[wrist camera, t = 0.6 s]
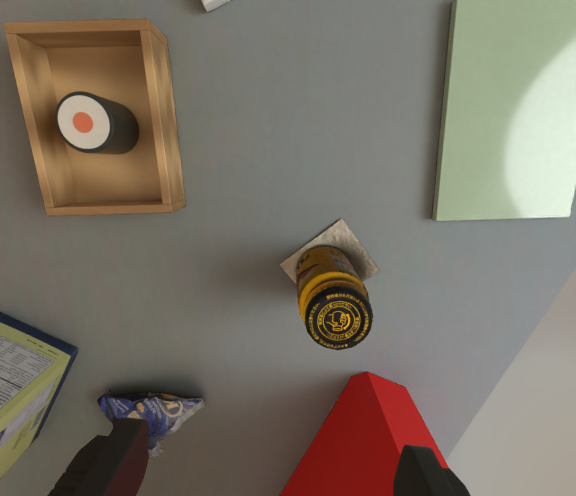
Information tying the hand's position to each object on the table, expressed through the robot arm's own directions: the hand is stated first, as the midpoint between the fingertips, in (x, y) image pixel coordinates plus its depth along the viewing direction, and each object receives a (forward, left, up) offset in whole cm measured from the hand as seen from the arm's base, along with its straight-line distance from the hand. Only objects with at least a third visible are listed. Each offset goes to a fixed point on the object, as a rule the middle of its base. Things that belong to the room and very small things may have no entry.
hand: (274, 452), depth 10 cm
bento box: (-12, -16, -26) cm, 33 cm away
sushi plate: (-12, +23, -26) cm, 37 cm away
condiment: (+3, +5, -26) cm, 27 cm away
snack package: (+21, -17, -26) cm, 37 cm away
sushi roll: (-12, -16, -25) cm, 32 cm away
